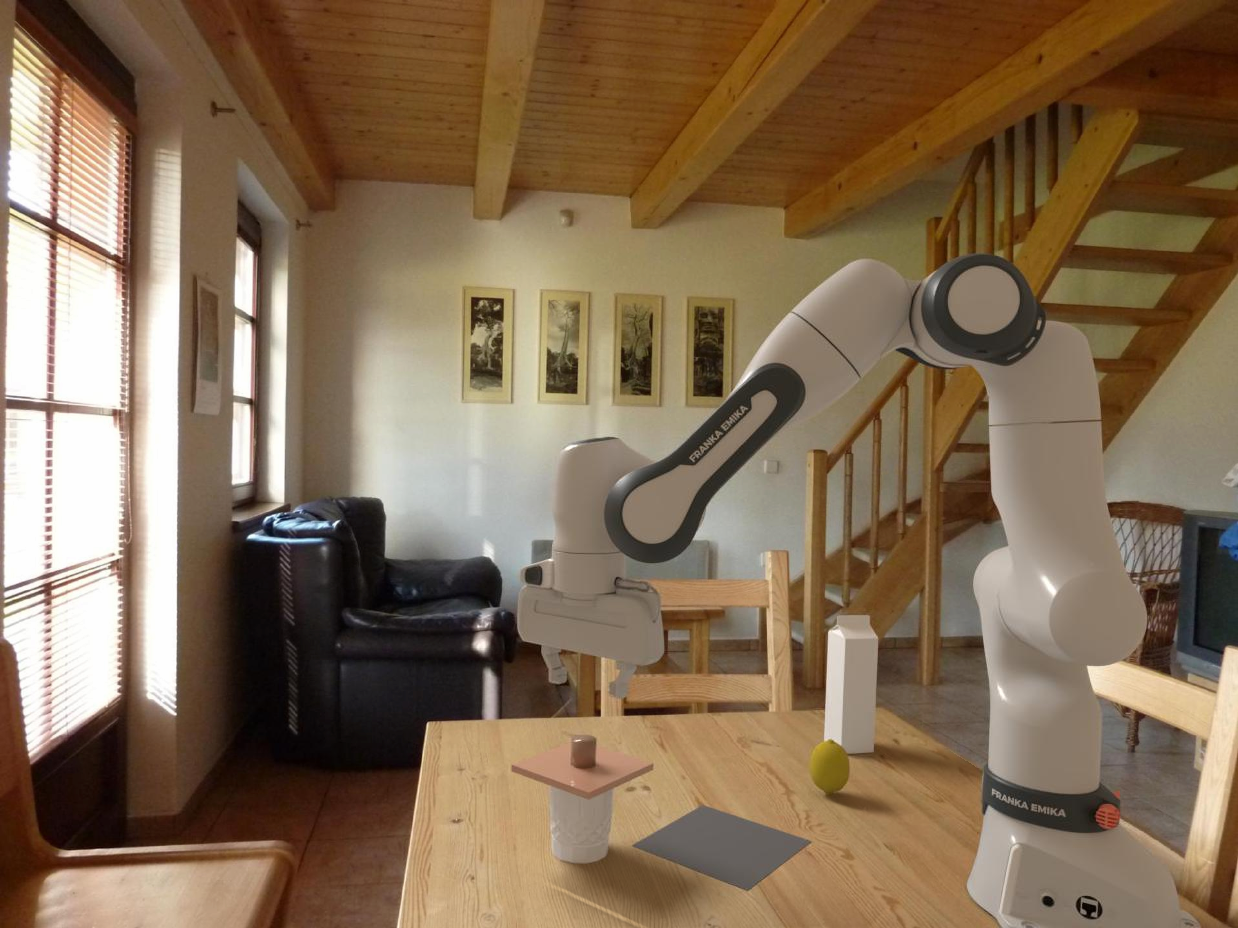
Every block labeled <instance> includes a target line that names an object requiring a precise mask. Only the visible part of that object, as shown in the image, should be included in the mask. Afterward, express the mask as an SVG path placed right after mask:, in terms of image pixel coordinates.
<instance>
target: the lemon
mask: <svg viewBox="0 0 1238 928" xmlns="http://www.w3.org/2000/svg"><path fill="white" fill-rule="evenodd" d="M809 760H810V761H809V773H810V777H811V780H812V782H813V784H814V785H815V786H816V787H817V788H818V789H819V790H821V791H823V792H824V793H825V794H826V796H832V795H833V794H834V793H836V792H839V791H841V790H842V789H843V788H844V787H845V786H846V785H847V783H848V781H849V778H850V771H851V770H850V769H851V767H850V760H849V754H847V753H846V751H845V750H844V748H843V747H842V746H841V745H839V744H838V743H836V742H834V741H833V740H832V739H828V740H827V741H825V742H824V741H822V742H820V743H819V744H817V745H816V746H815V748H814V749H813V751H812V753H811V757H810V759H809Z"/></svg>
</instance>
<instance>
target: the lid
mask: <svg viewBox="0 0 1238 928" xmlns="http://www.w3.org/2000/svg"><path fill="white" fill-rule="evenodd" d="M510 768H511V772H512V773H515V774H518V775H521V776H523V777H525V778H528V779H530V780H531V779H532V780H533V781H537V782H539V783H542V784H544V785H548V786H549V787H550V786H553V787H555V788H558V789H561V790H563V791H566V792H569V793H572V794H574V795H577V796H580V797H582V798H585V799H588V800H589V799H591V798H594V797H596V796H598V795H600V794H602V793H604V792H607V791H609V790H611V789H613V788H614V789H615V788H617V787H620V786H621V785H623V784H626V783H628V782H631V781H632V780H635V779H637V778H638V777H641V776H643V775H645V774H647V773H649V772H651V771H654V762H651V761H648V760H644V759H642V758H639V757H634V756H631V755H630V754H629V755H628V754H626V753H622V752H619V751H616V750H613V749H610V748H607V747H606V748H605V747H602V746H600V745H597V737H595V736H593V735H589V734H577V735H574V736H572V737H571V740H570V742H568V743H565V744H563V745H560V746H557V747H555V748H552V749H549V750H547V751H545V752H542V753H538V754H536V755H533V756H530V757H528V758H526V759H523V760H521V761H517V762H514V763H512V764H511V767H510Z"/></svg>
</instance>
